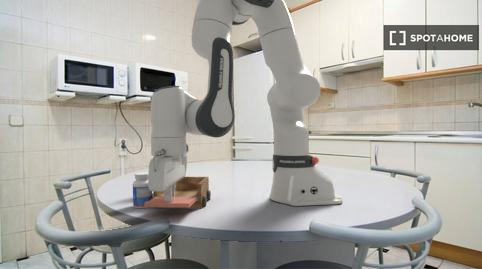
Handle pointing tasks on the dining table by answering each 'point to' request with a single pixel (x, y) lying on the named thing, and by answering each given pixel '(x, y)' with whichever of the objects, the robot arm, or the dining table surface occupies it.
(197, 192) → the truck bed
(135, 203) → the pill bottle
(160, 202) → the tailgate
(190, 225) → the dining table surface
